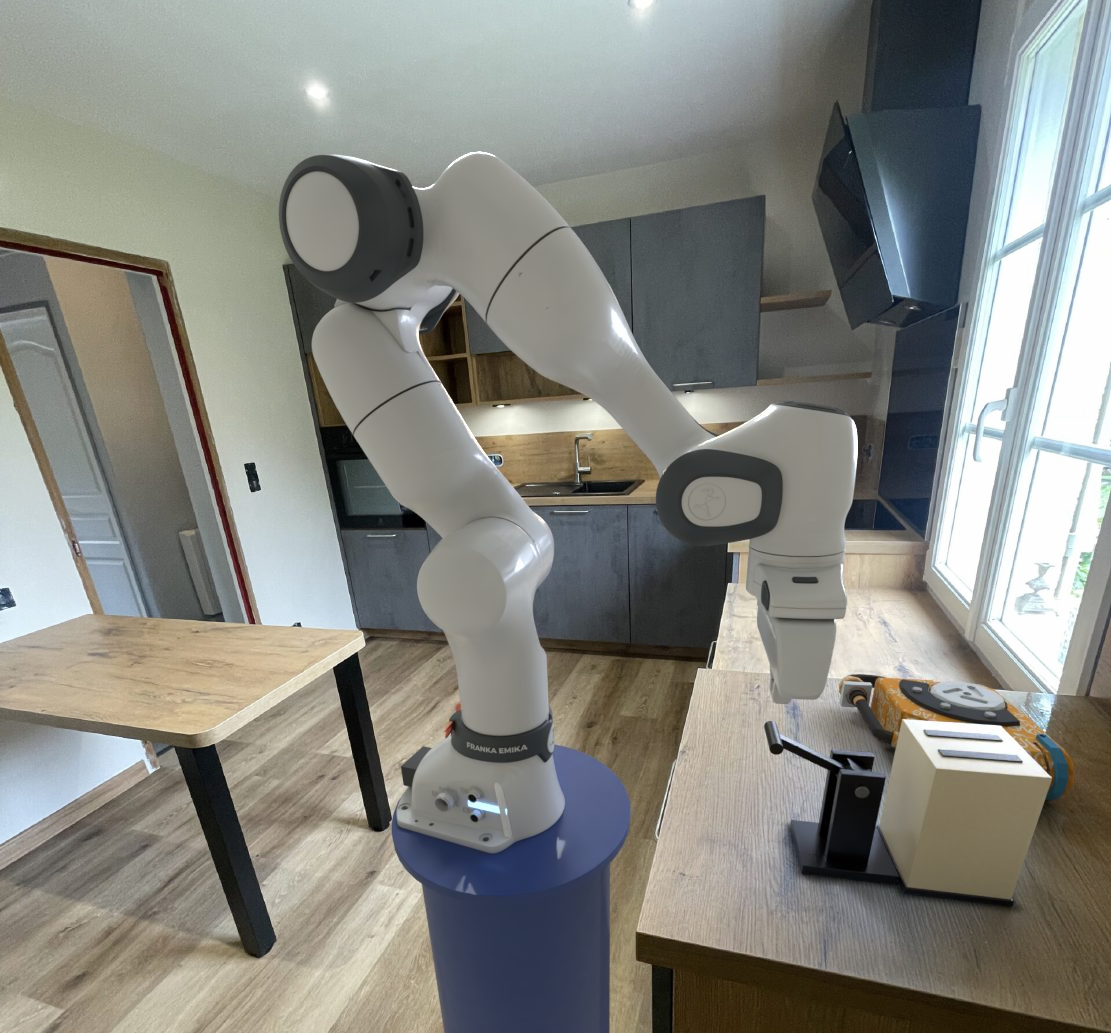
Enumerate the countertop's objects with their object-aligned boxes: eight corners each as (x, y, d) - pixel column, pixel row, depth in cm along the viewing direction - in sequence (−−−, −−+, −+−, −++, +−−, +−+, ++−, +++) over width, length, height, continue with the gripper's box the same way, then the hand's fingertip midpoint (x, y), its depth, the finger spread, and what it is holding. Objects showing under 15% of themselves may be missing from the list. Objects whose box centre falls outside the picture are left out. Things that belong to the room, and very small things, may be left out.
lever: (764, 754, 63) (776, 738, 62) (759, 731, 68) (770, 715, 67) (866, 803, 63) (879, 787, 62) (853, 776, 67) (866, 761, 66)
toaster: (904, 893, 63) (935, 768, 57) (875, 830, 72) (899, 716, 67) (1012, 907, 61) (1056, 778, 55) (968, 839, 70) (1002, 723, 64)
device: (892, 746, 75) (835, 655, 102) (881, 799, 78) (828, 696, 105) (1094, 760, 71) (979, 661, 98) (1074, 815, 74) (967, 704, 101)
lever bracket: (801, 873, 66) (816, 779, 61) (790, 827, 73) (802, 740, 69) (897, 885, 64) (920, 789, 59) (875, 836, 71) (894, 747, 67)
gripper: (749, 551, 68) (740, 658, 73) (773, 605, 50) (759, 744, 55) (806, 551, 67) (793, 660, 72) (853, 607, 48) (831, 749, 53)
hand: (779, 697), depth 63 cm, fingers closed
